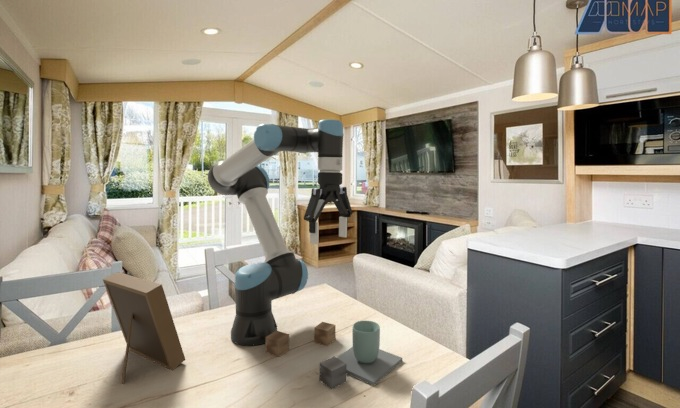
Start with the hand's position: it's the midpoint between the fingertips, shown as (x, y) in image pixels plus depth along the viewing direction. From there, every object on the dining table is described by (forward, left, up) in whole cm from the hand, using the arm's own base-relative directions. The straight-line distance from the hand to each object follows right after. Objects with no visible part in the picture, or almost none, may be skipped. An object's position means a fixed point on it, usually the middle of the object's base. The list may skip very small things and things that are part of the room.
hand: (329, 240), depth 108 cm
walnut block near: (-9, -14, -34) cm, 37 cm away
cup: (+16, -2, -33) cm, 36 cm away
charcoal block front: (+14, -15, -34) cm, 39 cm away
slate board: (+16, -2, -34) cm, 37 cm away
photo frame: (-34, -44, -34) cm, 65 cm away
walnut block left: (-2, 0, -34) cm, 34 cm away
